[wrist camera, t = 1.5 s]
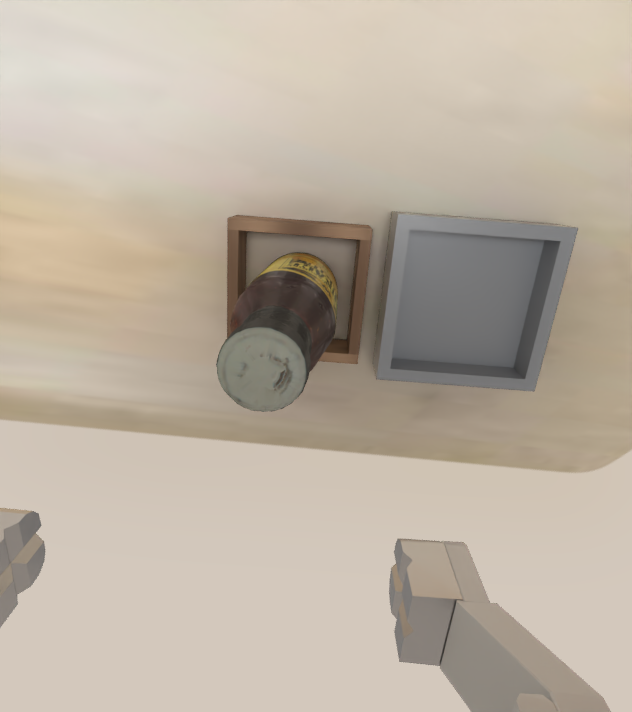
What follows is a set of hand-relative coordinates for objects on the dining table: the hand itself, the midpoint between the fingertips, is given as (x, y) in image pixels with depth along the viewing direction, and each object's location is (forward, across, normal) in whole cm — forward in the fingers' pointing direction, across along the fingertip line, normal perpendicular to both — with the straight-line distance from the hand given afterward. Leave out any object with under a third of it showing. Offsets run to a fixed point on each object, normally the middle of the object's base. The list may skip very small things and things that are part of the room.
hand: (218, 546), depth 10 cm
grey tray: (+30, -14, 0) cm, 33 cm away
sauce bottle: (+30, 0, 0) cm, 30 cm away
